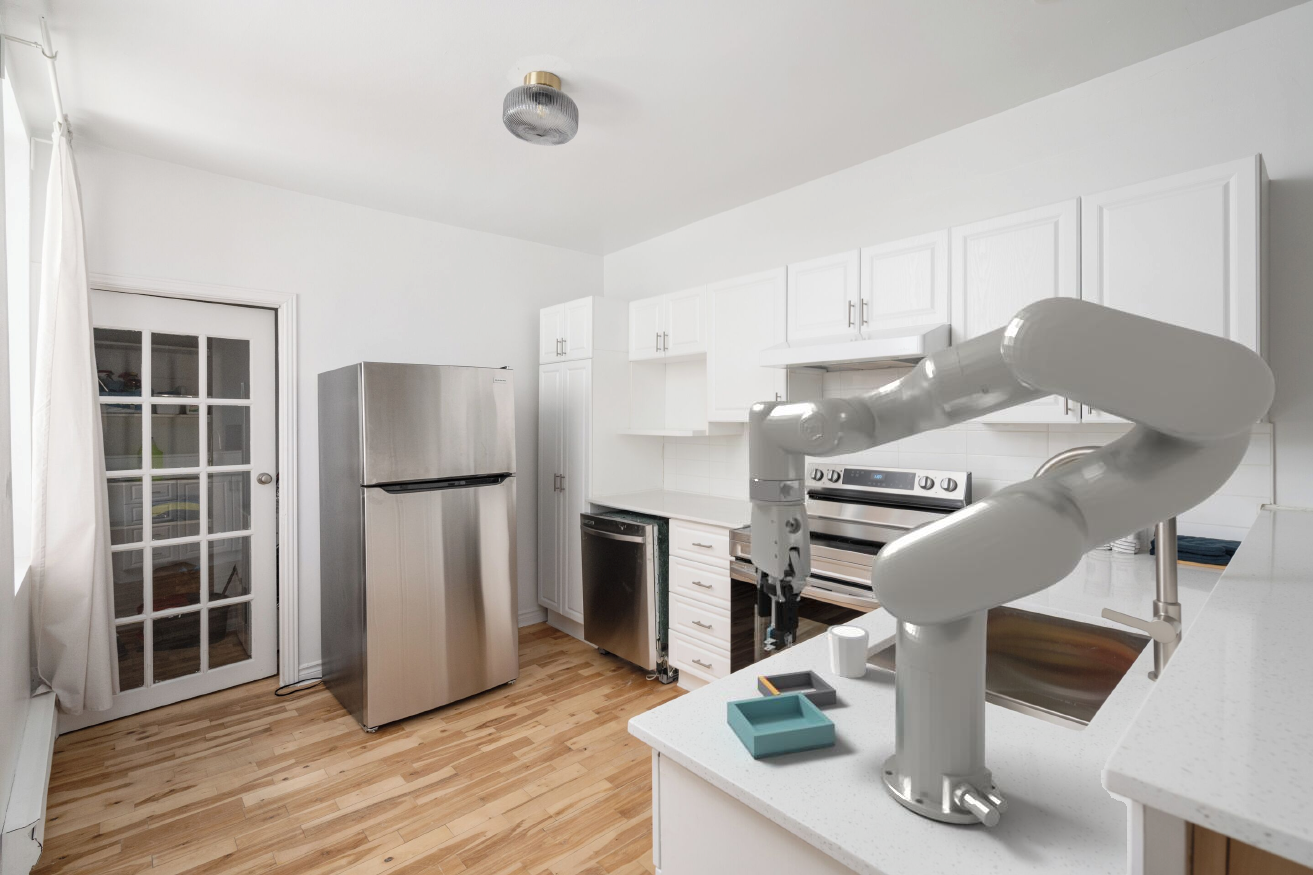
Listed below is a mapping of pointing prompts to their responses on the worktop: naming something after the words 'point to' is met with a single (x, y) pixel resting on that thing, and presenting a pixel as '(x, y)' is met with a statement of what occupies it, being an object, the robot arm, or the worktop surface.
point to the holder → (819, 697)
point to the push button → (774, 637)
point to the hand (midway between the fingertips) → (777, 621)
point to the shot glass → (848, 650)
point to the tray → (780, 725)
